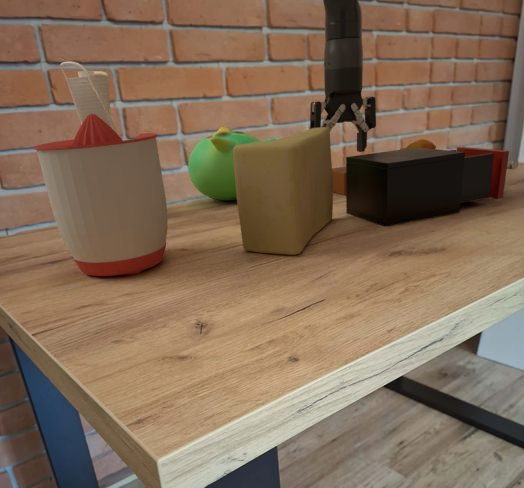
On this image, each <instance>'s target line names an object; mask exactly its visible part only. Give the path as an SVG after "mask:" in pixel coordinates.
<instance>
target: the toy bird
mask: <svg viewBox="0 0 524 488" xmlns="http://www.w3.org/2000/svg"><path fill="white" fill-rule="evenodd" d="M281 138H282V137H273V138H268V139H263V140H259V139H258V138H257V137H255V136H253V135H251V134H249V133H246V132H243V131H237V130H233V131H232V130H231V129H230V128H229V127H227V126H221V127H219V129H217V131H216V132H215V133H214V134H210V135H208V136H207V137H204V138H203V139H201V140H200V141H199V142H198V143H197V144H196V145H195V146H194V147H193V148H192V151H191V153H190V155H189V158H188V163H187V165H188V166H187V170H188V171H187V172H188V175H189V178H190V181H191V183H192V185H193V186H194V187H195V189H196V190H198V192H200V193H201V194H202V195H204V196H206V197H207V198H210V199H213V200H218V201H237V195H236V185H235V173H234V162H233V149H234V147H236V146H238V145H241V144H247V143H254V142H267V141H274V140H278V139H281Z"/></svg>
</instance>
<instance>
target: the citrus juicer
mask: <svg viewBox="0 0 524 488" xmlns="http://www.w3.org/2000/svg"><path fill="white" fill-rule="evenodd" d="M78 128H79V129H78V130H77V132H76V134H75V136H74V138H72V139H66V140H60V141H53V142H47V143H42V144H41V143H40V144H37V145H34V146H33V150H35V151H36V154H37V158H38V163H39V166H40V169H41V173H42V177H43V181H44V185H45V188H46V192H47V196H48V200H49V203H50V207H51V211H52V215H53V218H54V221H55V224H56V228H57V230H58V232H59V235H60V237H61V239H62V242H63V243H64V245H65V247H66V249H67V250H68V252H69V253H70V255H71V259H72V260H73V261H74V263H75V264H76V265H77V267H78V268H79V269H80V271H81V272H82V273H84V274H85V275H87V276H94V277H95V276H96V277H111V276H121V275H137V274H140V273H141V272H142V271H144V270H147V269H150V268H152V267H154V266H156V265H158V264H160V263H161V262H162V261H163V260H164V256H165V252H166V247H167V235H168V207H167V205H168V204H167V198H166V190H165V184H164V179H163V174H162V166H161V161H160V154H159V148H158V143H157V137H158V136H159V135H158V134H157V133H155V132H145V133H139V134H138V135H136V136H135V138H132V139H124V140H123V139H122V138H121V136H120V135H119V134H118V132H117V131H116V132H117V133H116V132H115V131H114V130H113V129H112V128H111V127H110V126H109V125H108V124H107V123H105V122H104V121H103V120H102V119H101V118H99V117H98V116H96V115H95V114H90V115H88V116H87V117H86V119H85V120H84V121H83V123H82V125H81V124H80V126H79V127H78Z"/></svg>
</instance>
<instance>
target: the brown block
mask: <svg viewBox="0 0 524 488" xmlns="http://www.w3.org/2000/svg"><path fill="white" fill-rule="evenodd" d="M332 179H333V193H334V194H339V195H342V196H346V166H340V167H332Z"/></svg>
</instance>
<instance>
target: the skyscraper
mask: <svg viewBox="0 0 524 488" xmlns="http://www.w3.org/2000/svg"><path fill="white" fill-rule="evenodd" d="M64 66H76V67H78V68H80V69H81V70H80V71H77V76H74V77H68V76H67V73H66V71H65V69H64ZM59 68H60V70H61V72H62V74H63V76H64V78H65V81H66V85H67V87H68V90H69V93H70V96H71V98H72V101H73V105H74V107H75V110H76V113H77V116H78V119H79V121H80V126H81V125H82V123H83V121H84V120H85V119H86V117H87V116H88V115H90V114H95V115H96V116H98V117H99V118H101V119H102V120H103V121H104V122H105V123H107V124H108V125H109V126H110V127H111V128H112V129H113V130H114V131H115V132H116V133H117V134H118V131H117V129H116V126H115V123H114V120H113V119H112V115H111V97H110V82H109V74H108V73H107V72H106V71H102V70H98V71H95V70H87V69H86V67H85V66H83V64H81V63H79V62H76V61H63V62H61V63H60V64H59Z"/></svg>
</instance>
